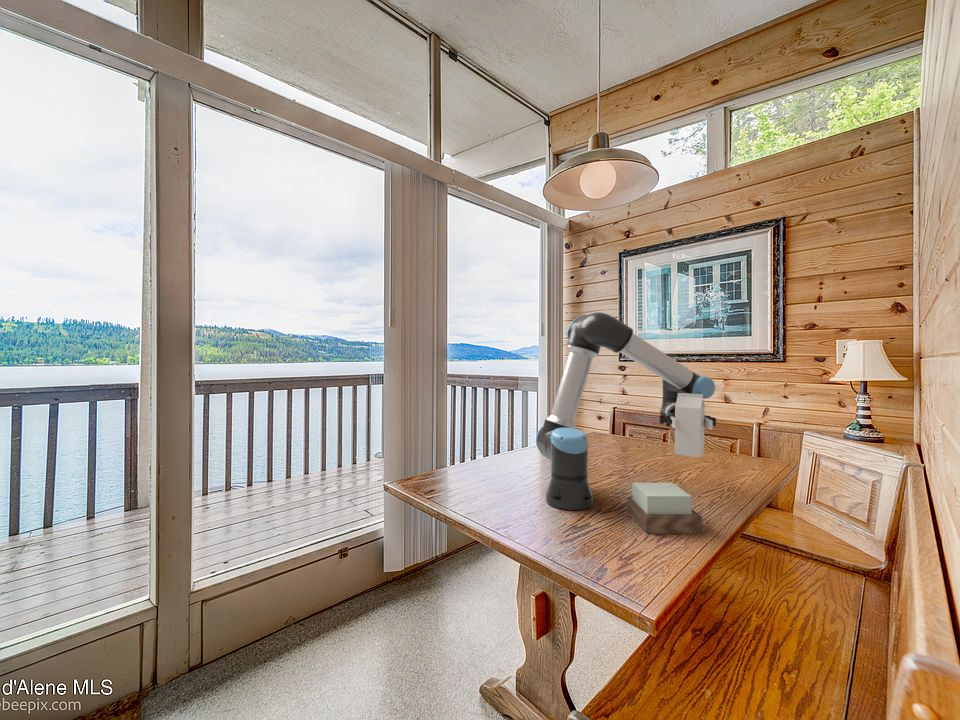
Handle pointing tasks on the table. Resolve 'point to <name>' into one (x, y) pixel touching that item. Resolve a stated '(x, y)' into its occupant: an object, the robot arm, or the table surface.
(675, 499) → the tower top
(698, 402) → the milk carton
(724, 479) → the table surface
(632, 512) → the tower base
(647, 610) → the table surface
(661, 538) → the table surface
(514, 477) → the table surface
